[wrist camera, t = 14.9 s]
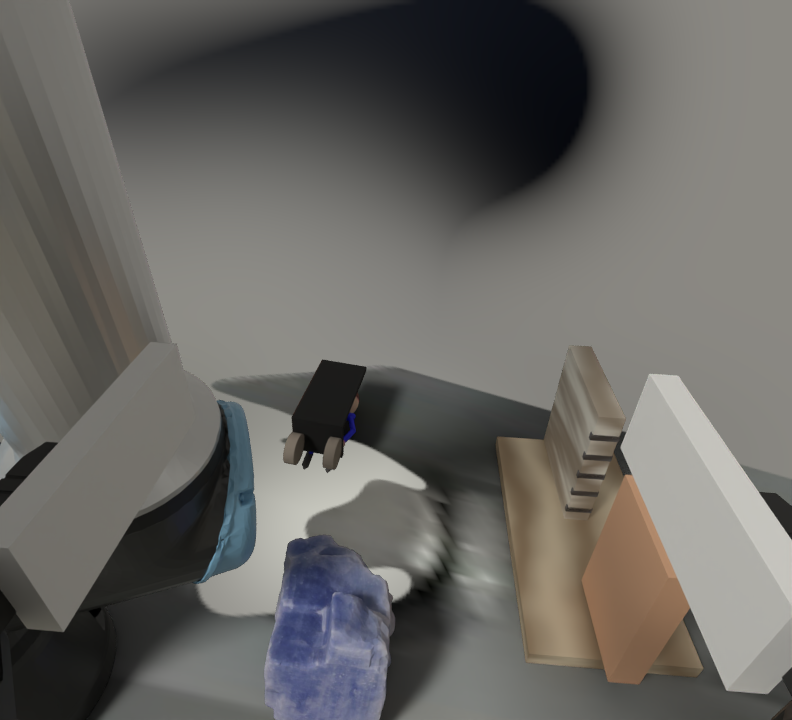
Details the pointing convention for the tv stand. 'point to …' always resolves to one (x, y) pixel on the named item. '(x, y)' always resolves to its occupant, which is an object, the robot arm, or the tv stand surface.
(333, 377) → the figurine character
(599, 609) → the orange rectangular panel
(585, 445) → the stand
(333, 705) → the mineral
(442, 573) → the tv stand surface
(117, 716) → the tv stand surface
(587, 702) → the tv stand surface
